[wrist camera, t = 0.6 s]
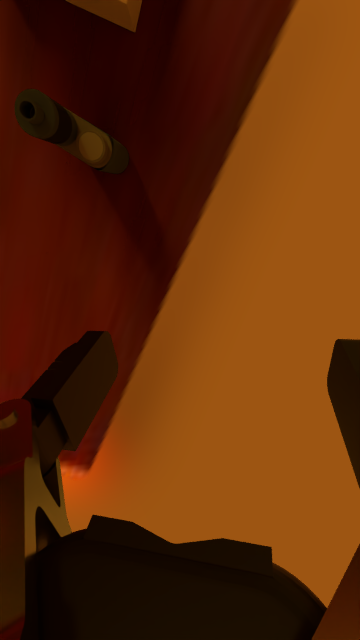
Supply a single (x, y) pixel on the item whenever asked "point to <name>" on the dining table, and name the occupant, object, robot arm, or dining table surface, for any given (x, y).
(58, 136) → the vaping device
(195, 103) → the dining table surface
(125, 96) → the dining table surface
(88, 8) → the riser
